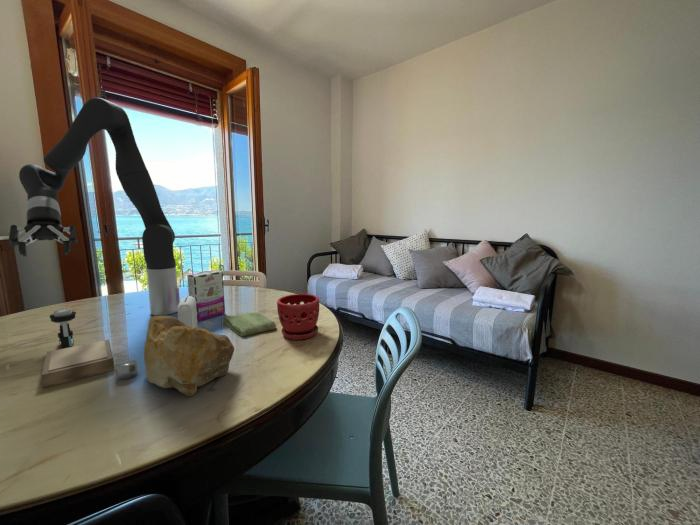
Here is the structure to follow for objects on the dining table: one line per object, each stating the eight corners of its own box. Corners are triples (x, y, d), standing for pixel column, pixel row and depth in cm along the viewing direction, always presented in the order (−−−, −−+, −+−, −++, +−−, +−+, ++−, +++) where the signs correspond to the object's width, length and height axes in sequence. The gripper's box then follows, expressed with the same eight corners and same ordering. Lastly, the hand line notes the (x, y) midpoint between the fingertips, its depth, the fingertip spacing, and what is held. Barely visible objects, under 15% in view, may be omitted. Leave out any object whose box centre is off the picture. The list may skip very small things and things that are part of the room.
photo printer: (184, 330, 96) (181, 293, 94) (198, 329, 98) (196, 292, 96) (178, 343, 87) (175, 302, 85) (194, 341, 88) (192, 301, 86)
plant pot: (303, 324, 105) (303, 290, 103) (327, 335, 95) (327, 298, 93) (269, 333, 96) (269, 297, 94) (293, 346, 86) (292, 307, 84)
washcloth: (257, 316, 113) (257, 307, 112) (278, 330, 99) (278, 321, 99) (221, 323, 105) (221, 314, 104) (238, 340, 91) (238, 330, 91)
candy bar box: (217, 311, 116) (215, 269, 113) (225, 313, 113) (223, 271, 111) (189, 319, 106) (186, 274, 104) (197, 322, 104) (194, 276, 101)
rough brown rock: (255, 386, 68) (257, 321, 67) (176, 416, 55) (177, 337, 54) (208, 356, 83) (209, 303, 82) (137, 375, 70) (137, 312, 69)
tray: (110, 349, 82) (108, 338, 81) (114, 369, 72) (113, 357, 71) (48, 363, 74) (46, 350, 73) (43, 388, 64) (41, 373, 63)
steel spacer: (136, 369, 72) (135, 358, 72) (138, 376, 69) (137, 364, 69) (115, 375, 69) (114, 363, 69) (117, 382, 66) (115, 370, 66)
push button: (52, 343, 85) (47, 309, 83) (77, 338, 89) (73, 305, 87) (54, 350, 81) (49, 315, 79) (80, 344, 85) (76, 310, 83)
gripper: (7, 204, 87) (6, 246, 81) (73, 206, 97) (77, 244, 90) (12, 221, 92) (12, 263, 85) (75, 222, 101) (79, 259, 95)
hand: (45, 253), depth 88 cm, fingers open, 8 cm apart
